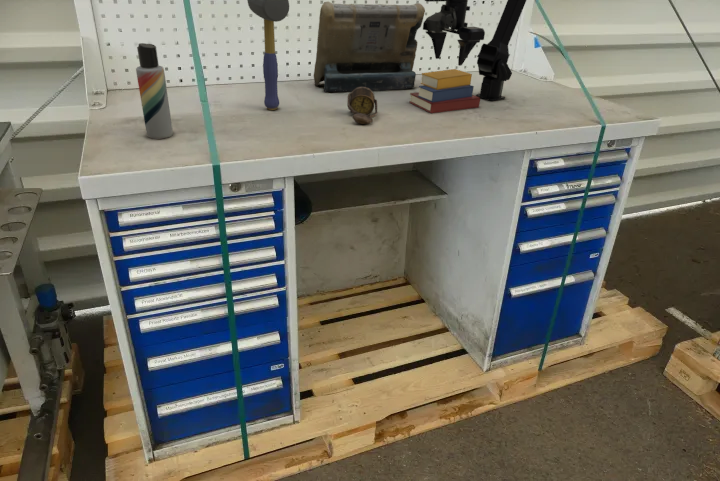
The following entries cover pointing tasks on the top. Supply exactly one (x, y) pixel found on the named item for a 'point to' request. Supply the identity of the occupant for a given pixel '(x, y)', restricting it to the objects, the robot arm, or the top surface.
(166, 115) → the lotion bottle
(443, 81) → the top book
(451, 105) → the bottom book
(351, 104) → the brown round dial piece
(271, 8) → the rubber mallet
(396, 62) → the tablet
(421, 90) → the middle book
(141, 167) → the top surface
